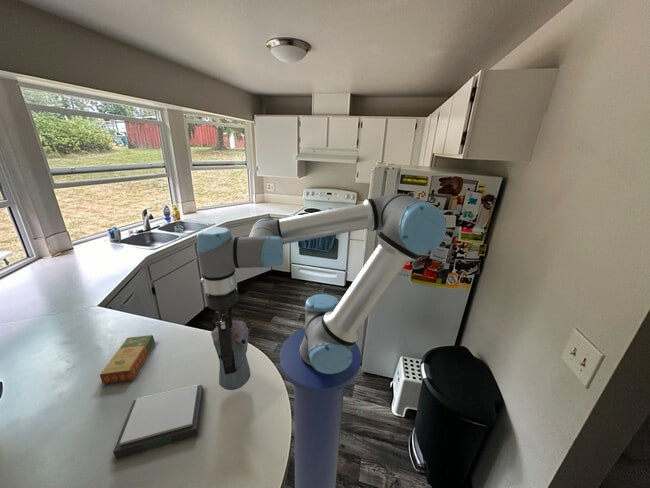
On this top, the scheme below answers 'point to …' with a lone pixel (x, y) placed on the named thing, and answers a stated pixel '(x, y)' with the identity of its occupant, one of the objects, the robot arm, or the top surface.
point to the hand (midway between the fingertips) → (230, 356)
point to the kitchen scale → (160, 420)
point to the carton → (127, 359)
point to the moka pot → (239, 348)
